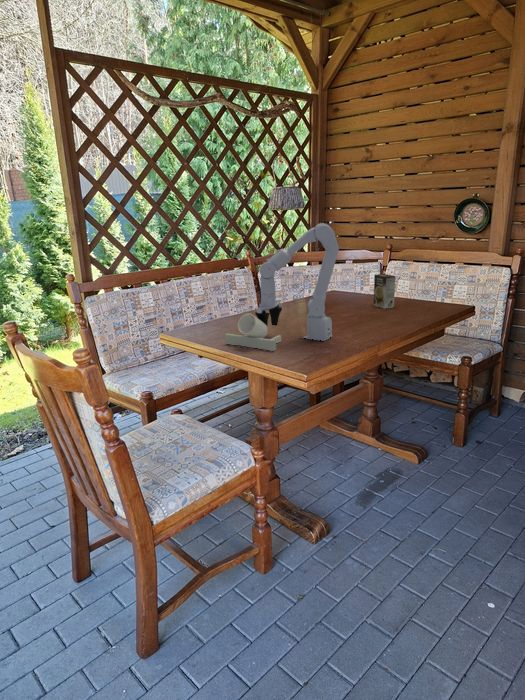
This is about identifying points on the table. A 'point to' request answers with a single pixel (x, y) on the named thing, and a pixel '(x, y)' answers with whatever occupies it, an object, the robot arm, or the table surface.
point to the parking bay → (253, 341)
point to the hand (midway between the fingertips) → (269, 327)
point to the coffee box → (384, 291)
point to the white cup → (252, 326)
